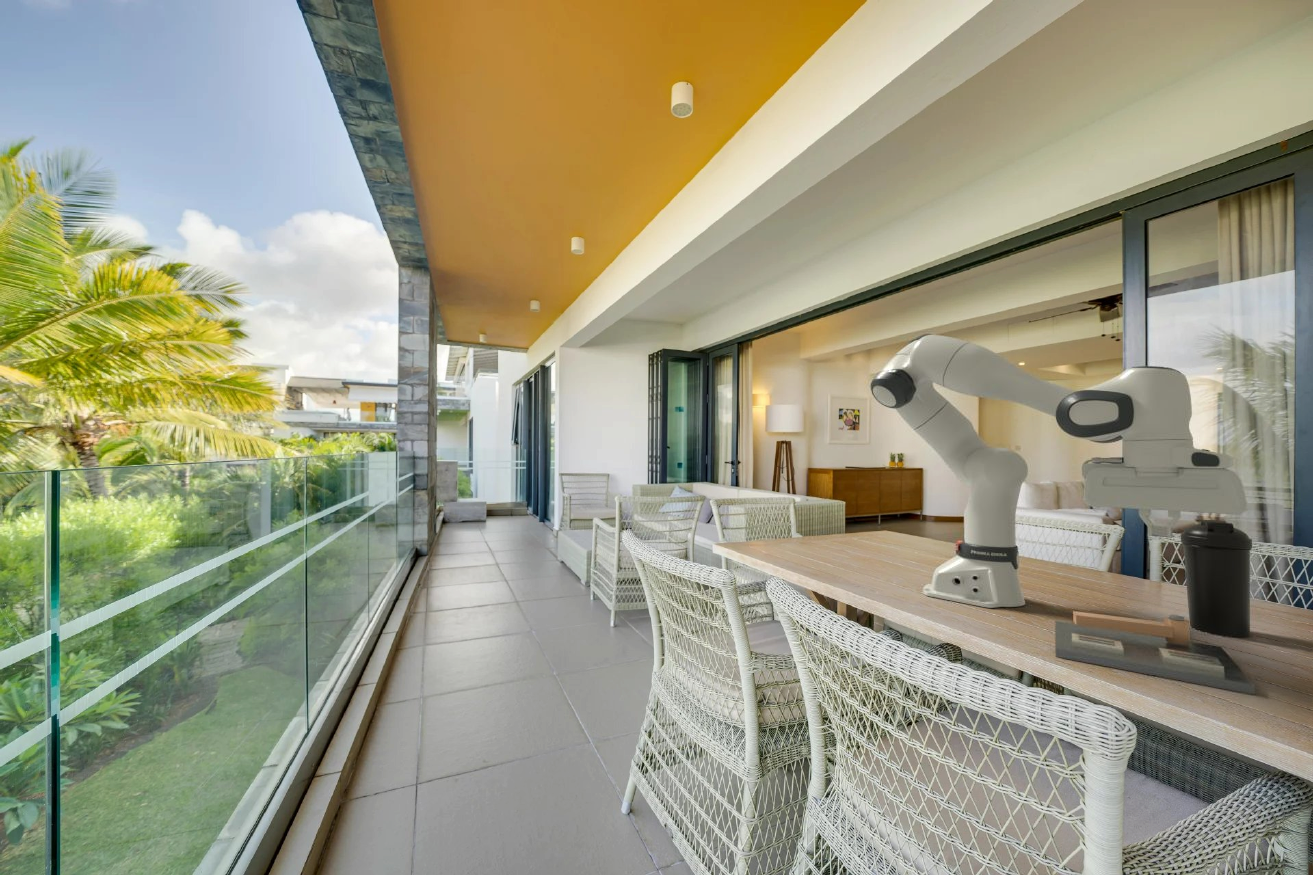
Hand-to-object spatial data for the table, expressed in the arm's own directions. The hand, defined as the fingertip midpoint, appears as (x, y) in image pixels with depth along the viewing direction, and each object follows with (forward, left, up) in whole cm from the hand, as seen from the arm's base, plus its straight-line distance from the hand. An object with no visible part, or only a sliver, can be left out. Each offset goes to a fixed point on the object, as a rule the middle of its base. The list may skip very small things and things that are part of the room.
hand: (1160, 536), depth 88 cm
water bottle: (+12, +33, -23) cm, 42 cm away
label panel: (-3, +4, -23) cm, 23 cm away
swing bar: (-4, +11, -21) cm, 24 cm away
